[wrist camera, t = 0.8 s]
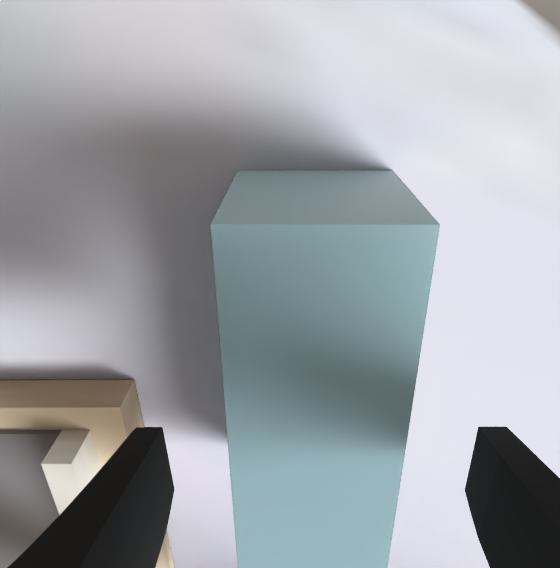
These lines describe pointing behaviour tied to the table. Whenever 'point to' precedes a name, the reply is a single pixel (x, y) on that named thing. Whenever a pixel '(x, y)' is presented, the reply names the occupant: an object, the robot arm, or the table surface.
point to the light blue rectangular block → (319, 358)
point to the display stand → (57, 451)
